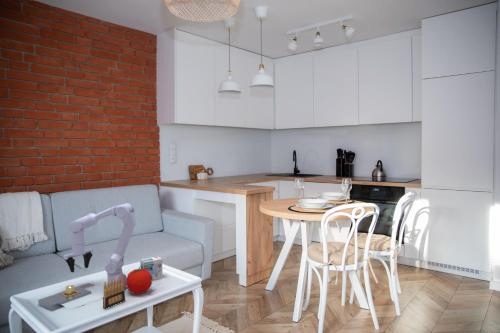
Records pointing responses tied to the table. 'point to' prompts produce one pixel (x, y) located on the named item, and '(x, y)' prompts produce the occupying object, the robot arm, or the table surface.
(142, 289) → the tomato
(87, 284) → the gray square block
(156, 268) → the light bulb box
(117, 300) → the ammunition clip
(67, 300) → the plate
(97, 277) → the table surface
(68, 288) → the brass peg
